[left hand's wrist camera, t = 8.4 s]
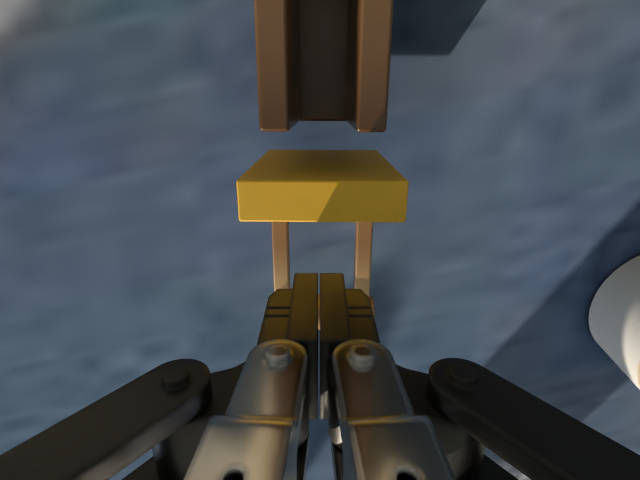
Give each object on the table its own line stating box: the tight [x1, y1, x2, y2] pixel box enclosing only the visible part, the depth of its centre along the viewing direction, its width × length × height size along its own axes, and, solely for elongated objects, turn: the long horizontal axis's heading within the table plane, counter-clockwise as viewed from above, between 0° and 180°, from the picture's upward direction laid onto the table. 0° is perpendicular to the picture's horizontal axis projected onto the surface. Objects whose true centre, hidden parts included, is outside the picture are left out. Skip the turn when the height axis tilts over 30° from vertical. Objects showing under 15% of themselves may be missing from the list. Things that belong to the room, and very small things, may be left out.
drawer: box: [237, 0, 409, 330], centre depth 13 cm, size 22×5×7 cm, turn 0°
